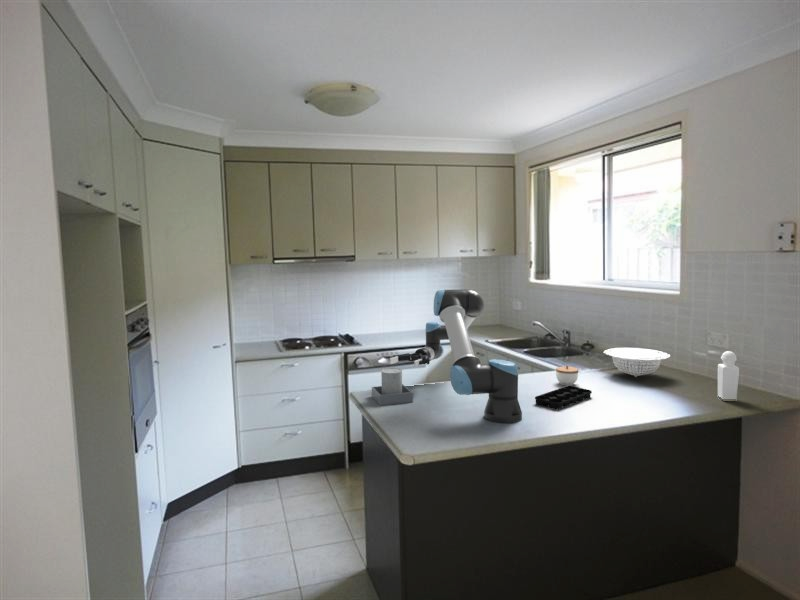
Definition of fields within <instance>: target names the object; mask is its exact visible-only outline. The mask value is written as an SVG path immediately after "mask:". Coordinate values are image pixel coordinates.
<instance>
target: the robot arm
mask: <svg viewBox="0 0 800 600" xmlns="http://www.w3.org/2000/svg"><path fill="white" fill-rule="evenodd" d="M484 309H485V302H484V299H483V298H482V296H481V294H480V293H478V292H477V291H475V290H473V289H467V288H464V289H463V288H462V289H439V290H437V291H435V293H434V297H433V315H434V316H436V317H438V316H439V320H440V321H441V322H442V323H444V325H441V324H440V322H439V321H427V322H426V324H425V346H424V347H422V348H419V349H418V348H417V350H415V352H414V353H410V352H409V353H403V354H396V355H395V354H394V355H392V357H390V358H389V364H390V365H393V364H397V363H398V362H405V361H408V362H413V367H414V368H417V367H419V366H422V365H430V362H431V361H433V360H437V359H439V358H440V357H442V356H443V355H444V348H443V345H441V341H444V340H445V341H446V340H449V341H448V342H449V345H450V348H451V352H452V356H453V360H454V362H453V364H452V366H451V368H450V369H449V378H450V383H451V387H452V389H453V391H454V392H455V393H456V394H457V395H460V396H470V395H483V394H488V399H487V402H486V405H485V408H484V412H483V413H484V415H483V417H484V419H486V420H488V421H491V422H494V423H501V424H502V423H503V424H506V423H507V424H510V423H511V424H512V423H517V422H519V421H521V420H522V418H523V411H522V408H521V406H520V402H519V398H518V397H519V395H518V394H519V390H518V389H519V369H518V365H517V364H516V363H515V362H513V361H510V360H509V361H508V360H504V359H489V360H488V362H487V363H485V364H484V363H483V364H482V363H481V359H480V358H479V357H477V356H475V352H474V349H473V346H472V343H471V339H470V335H469V327H470V326H471V324H472V323H473V322H474V320H475V319H476V318H478V317H480V315H481V314H482V313H483V311H484Z"/></svg>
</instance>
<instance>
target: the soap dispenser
mask: <svg viewBox="0 0 800 600" xmlns="http://www.w3.org/2000/svg"><path fill="white" fill-rule="evenodd" d="M736 355H737V354H735V352H733V351H730V350H727V351H724V352H723V353H722V354H721V356H720V359H721V362H722V363H718V364H717V397H718V396H719V397H721V398H722V399H736V400H737V396H738V386H739V377H740V376H739V375H740V367H739V366H738V365H735V364H736V361H737V360H738V358H737V356H736Z"/></svg>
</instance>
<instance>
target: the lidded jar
mask: <svg viewBox="0 0 800 600" xmlns="http://www.w3.org/2000/svg"><path fill="white" fill-rule="evenodd" d="M555 371H556V372H555V374H556V375H555V376H556V379H557V381H558V382H559V383H560V385H562V386H574V384H575V383H576V382H577V380H578V376H579V369H578V368H577V367H574V366H569V365H566V366H558V367H556V368H555Z"/></svg>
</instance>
